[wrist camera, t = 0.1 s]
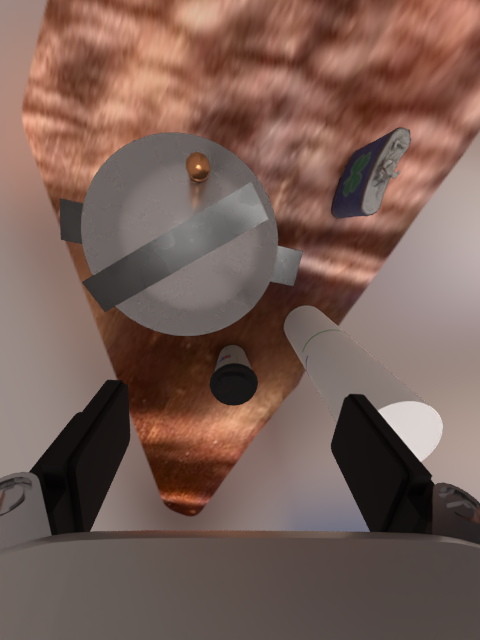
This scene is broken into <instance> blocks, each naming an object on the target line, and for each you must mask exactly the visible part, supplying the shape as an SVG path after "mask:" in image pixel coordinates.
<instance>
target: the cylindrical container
mask: <svg viewBox="0 0 480 640" xmlns="http://www.w3.org/2000/svg"><path fill="white" fill-rule="evenodd" d="M284 332H285V334H286V336H287V338H288V340H289V342H290V343H291V345H292V347H293V349H294V350H295V352H296V354H297V356H298V357H299V359H300V361H301V363H302V364H303V366H304V368H305V370H306V371H307V373H308V375H309V377H310V378H311V380H312V382H313V383H314V385H315V387H316V389H317V391H318V392H319V394H320V396H321V398H322V399H323V401H324V403H325V405H326V406H327V408H328V410H329V411H330V413H331V415H332V416H333V418H334V420H335V422H336V424H337V421H338V418H339V414H340V411H341V407H342V404H343V400H344V398H345V397H348V395H349V394H363V395H365V396H366V398H367V399H368V400H369V401H370V402H371V403H372V405H373V406H374V407H375V408H376V409H377V411H378V412H379V413H380V414H381V415H382V417H383V418H384V419H385V420H386V421H387V423H388V424H389V425H390V426H391V427H392V428H393V430H394V431H395V432H396V433H397V434H398V436H399V437H400V438H401V439H402V440H403V442H404V443H405V444H406V445H407V446H408V448H409V449H410V450H411V451H412V452H413V453H414V455H415V456H416V457H417V458H418V459H419V461H420V462H421V461H422V460H423V459H425V458H426V457H427V456H428V455H429V454H430V453H431V452H432V451H433V450H434V449H435V447H436V446H437V444H438V443H439V440H440V438H441V435H442V430H443V428H442V427H443V426H442V425H443V424H442V421H441V417H440V416H439V414H438V413H437V411H436V410H434V409H433V408H432V407H431V406H430V405H429V404H428V403H426V402H425V401H424V400H423V399H422V398H421V397H419V396H418V395H417V394H416V393H415V392H414V391H412V390H411V389H410V388H409V387H408V386H407V385H405V384H404V383H403V382H402V381H401V380H400V379H398V378H397V377H396V376H395V375H394V374H393V373H392V372H390V371H389V370H388V369H387V368H386V367H385V366H384V365H382V364H381V363H380V362H379V361H378V360H376V359H375V358H374V357H373V356H372V355H371V354H370V353H368V352H367V351H366V350H365V349H364V348H363V347H362V346H360V345H359V344H358V343H357V342H356V341H354V339H352V338H351V337H350V336H349V335H348V334H347V333H345V332H344V331H343V330H342V329H341V328H340V327H338V326H337V325H336V324H335V323H334V322H333V321H331V320H330V319H329V318H328V317H327V316H326V315H324V314H323V313H322V312H321V311H320V310H319V309H317V308H315V307H313V306H307V305H306V306H300V307H298V308H295V309H294V310H292V311H291V312H290V313H289V314H288V316H287V317H286V319H285V322H284Z"/></svg>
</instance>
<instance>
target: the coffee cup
mask: <svg viewBox="0 0 480 640" xmlns="http://www.w3.org/2000/svg"><path fill="white" fill-rule="evenodd" d="M257 385H258V381H257V376H256V375H255V373H254V371H253V370H252V368H251V366H250V364H249V361H248V359H247V357H246V355H245V352H244V351H243V349H242V348H241V347H239V346H237V345H228V346H226V347H224V348H223V349H222V350H221V352H220V354H219V358H218V361H217V364H216V367H215V371H214V373H213V375H212V377H211V379H210V388H211V392H212V393H213V395H214V396H215V398H216V399H217V400H218V401H220V402H221V403H224V404H226V405H234V406H235V405H240V404H243V403H245V402H247V401H249V400H250V399H251V398H252V397H253V395H254V393H255V392H256V390H257Z"/></svg>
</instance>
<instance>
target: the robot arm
mask: <svg viewBox="0 0 480 640" xmlns="http://www.w3.org/2000/svg"><path fill="white" fill-rule="evenodd" d="M129 441H130V419H129V398H128V385H127V384H124V383H123V381H122V380H107V381H106V382H105V383H104V384H103V386H102V387H101V388H100V390H99V391H98V392H97V394H96V395H95V396H94V397H93V399H92V400H91V401H90V402H89V404H88V405H87V406H86V408H85V409H84V410H83V412H79V413H77V414H76V415H75V416H74V417H73V418H72V419H71V420H70V422H69V423H68V424H67V425H66V427H65V428H64V429H63V430H62V432H61V433H60V434H59V435H58V437H57V438H56V439H55V440H54V442H53V443H52V444H51V445H50V447H49V448H48V449H47V450H46V452H45V453H44V454H43V455H42V457H41V458H40V459H39V460H38V462H37V463H36V464H35V465H34V467H33V468H32V469H31V470H30V472H20V473H14V474H11V475H8V476H5V477H3V478H0V640H480V503H479V502H478V501H477V500H476V499H475V498H474V497H472V496H471V495H470V494H468V493H467V492H465V491H464V490H462V489H460V488H458V487H456V486H454V485H451V484H447V483H437V484H436V485H435V484H434V483H433V482H432V481H431V477H432V475H431V474H430V473H429V471H428V470H427V469H426V468H425V467H424V466H423V464H422V463H421V462H420V461H419V459H418V458H417V457H416V456H415V455H414V453H413V452H412V451H411V450H410V449H409V448H408V446H407V445H406V444H405V443H404V442H403V440H402V439H401V438H400V437H399V436H398V434H397V433H396V432H395V431H394V430H393V428H392V427H391V426H390V425H389V424H388V423H387V421H386V420H385V419H384V418H383V417H382V415H381V414H380V413H379V412H378V411H377V409H376V408H375V407H374V406H373V405H372V403H371V402H370V401H369V400H368V399H367V398H366V396H365V395H363V394H349V395H348V397H345V398H344V400H343V404H342V407H341V411H340V414H339V418H338V421H337V425H336V428H335V432H334V435H333V439H332V443H331V450H332V453H333V455H334V457H335V459H336V462H337V464H338V466H339V468H340V470H341V472H342V474H343V476H344V478H345V480H346V482H347V484H348V486H349V488H350V491H351V493H352V494H353V497H354V499H355V501H356V503H357V505H358V507H359V509H360V511H361V514H362V516H363V518H364V520H365V522H366V524H367V526H368V528H369V530H370V532H333V531H332V532H330V531H329V532H328V531H159V530H158V531H157V530H154V531H151V530H150V531H149V530H146V531H94V532H90V530H91V528H92V526H93V524H94V521H95V519H96V517H97V515H98V512H99V510H100V508H101V506H102V503H103V501H104V499H105V497H106V494H107V492H108V490H109V488H110V485H111V483H112V481H113V479H114V476H115V474H116V472H117V469H118V467H119V465H120V463H121V461H122V458H123V456H124V454H125V452H126V449H127V447H128V445H129Z"/></svg>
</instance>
